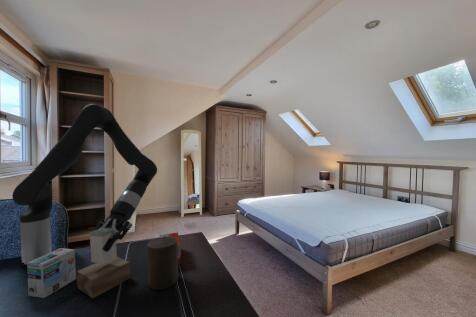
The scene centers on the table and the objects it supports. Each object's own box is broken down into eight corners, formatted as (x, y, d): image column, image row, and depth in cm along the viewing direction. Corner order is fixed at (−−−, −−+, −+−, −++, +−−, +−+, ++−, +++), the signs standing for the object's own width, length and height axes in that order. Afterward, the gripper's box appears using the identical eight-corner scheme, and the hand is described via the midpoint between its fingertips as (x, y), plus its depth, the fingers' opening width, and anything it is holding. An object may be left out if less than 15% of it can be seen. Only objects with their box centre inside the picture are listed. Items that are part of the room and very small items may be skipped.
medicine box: (159, 252, 94) (159, 234, 94) (178, 248, 97) (177, 231, 97) (160, 269, 80) (159, 248, 80) (181, 264, 83) (181, 244, 83)
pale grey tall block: (90, 262, 70) (89, 232, 70) (105, 254, 75) (104, 226, 75) (102, 264, 68) (101, 234, 68) (117, 256, 73) (115, 228, 73)
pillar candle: (166, 292, 66) (165, 245, 66) (141, 287, 69) (140, 242, 69) (183, 275, 75) (182, 234, 75) (160, 271, 78) (159, 231, 78)
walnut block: (77, 288, 69) (77, 271, 69) (114, 271, 80) (114, 255, 79) (92, 299, 64) (91, 279, 64) (130, 278, 74) (129, 262, 74)
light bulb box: (44, 299, 64) (42, 264, 64) (27, 296, 66) (25, 262, 66) (77, 278, 75) (75, 248, 75) (61, 276, 76) (60, 247, 76)
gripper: (105, 199, 81) (74, 242, 69) (135, 200, 76) (107, 247, 65) (118, 209, 86) (90, 251, 75) (146, 211, 81) (122, 256, 70)
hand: (98, 249), depth 70 cm, fingers closed on pale grey tall block, 5 cm apart
